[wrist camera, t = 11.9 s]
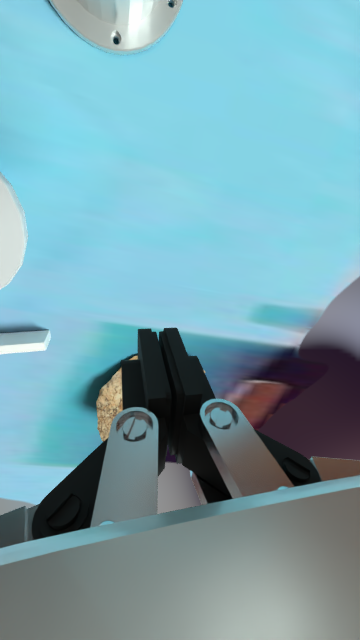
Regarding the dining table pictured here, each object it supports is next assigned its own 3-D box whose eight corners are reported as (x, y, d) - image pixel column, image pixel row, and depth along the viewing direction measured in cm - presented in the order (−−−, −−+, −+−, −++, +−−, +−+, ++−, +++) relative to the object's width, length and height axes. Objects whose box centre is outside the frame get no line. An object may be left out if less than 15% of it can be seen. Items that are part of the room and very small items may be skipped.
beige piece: (145, 325, 45) (150, 330, 37) (207, 372, 48) (223, 385, 40) (79, 410, 43) (70, 433, 36) (147, 453, 46) (152, 482, 39)
